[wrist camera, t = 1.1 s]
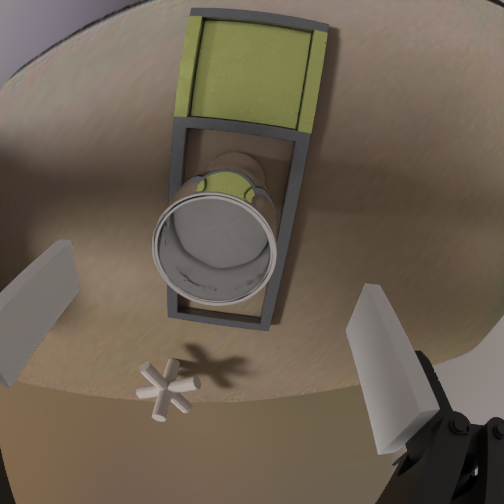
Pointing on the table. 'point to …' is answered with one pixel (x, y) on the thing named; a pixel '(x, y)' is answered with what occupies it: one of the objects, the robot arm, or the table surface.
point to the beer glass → (218, 233)
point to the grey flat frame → (248, 110)
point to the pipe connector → (166, 388)
